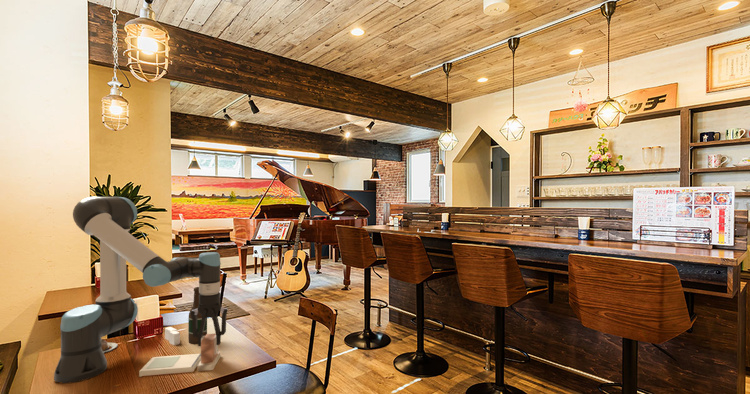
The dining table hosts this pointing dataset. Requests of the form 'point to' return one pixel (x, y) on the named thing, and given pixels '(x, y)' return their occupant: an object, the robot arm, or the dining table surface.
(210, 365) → the stub
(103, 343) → the pastry
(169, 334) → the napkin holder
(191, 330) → the beer bottle
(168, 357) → the white flat block
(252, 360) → the dining table surface
